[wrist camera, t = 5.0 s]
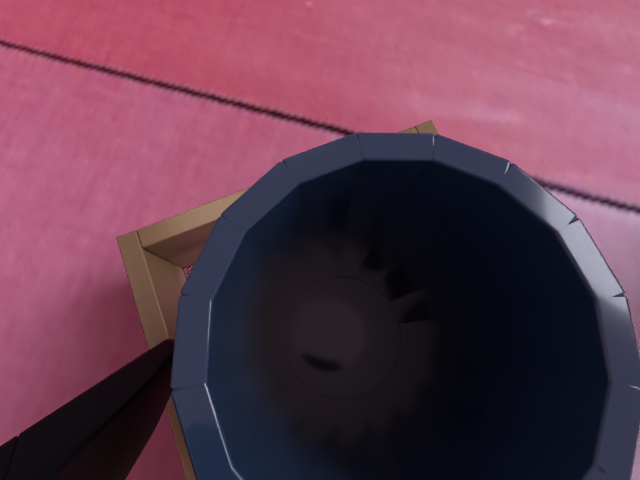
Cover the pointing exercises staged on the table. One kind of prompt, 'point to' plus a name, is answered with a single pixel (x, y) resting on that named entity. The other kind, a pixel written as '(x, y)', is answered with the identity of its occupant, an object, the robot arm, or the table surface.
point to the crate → (175, 274)
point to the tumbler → (404, 326)
